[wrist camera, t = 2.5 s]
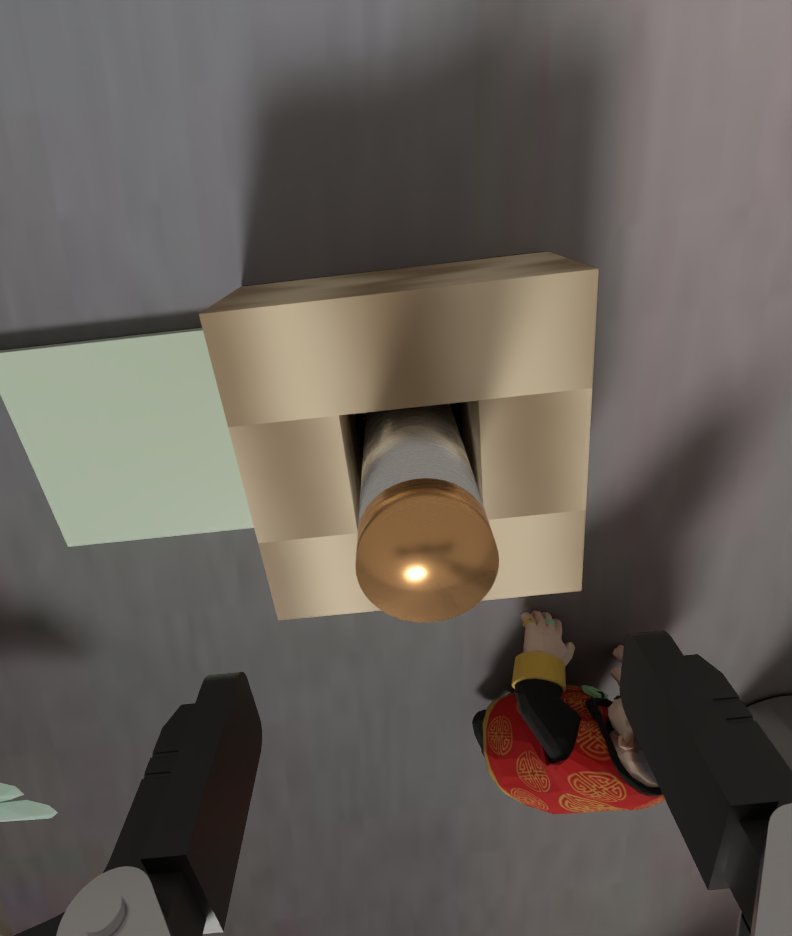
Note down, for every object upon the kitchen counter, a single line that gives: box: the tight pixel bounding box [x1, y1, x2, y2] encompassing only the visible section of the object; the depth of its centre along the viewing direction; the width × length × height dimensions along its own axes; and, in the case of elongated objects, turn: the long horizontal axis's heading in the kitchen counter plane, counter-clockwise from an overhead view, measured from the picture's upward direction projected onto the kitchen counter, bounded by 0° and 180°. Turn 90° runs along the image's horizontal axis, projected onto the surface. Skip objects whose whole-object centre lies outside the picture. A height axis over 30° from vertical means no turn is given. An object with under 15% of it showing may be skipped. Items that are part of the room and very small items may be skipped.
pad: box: [0, 328, 254, 547], centre depth 26 cm, size 10×10×1 cm
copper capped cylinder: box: [355, 404, 499, 622], centre depth 21 cm, size 4×4×12 cm
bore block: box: [199, 252, 599, 620], centre depth 23 cm, size 13×13×6 cm
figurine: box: [472, 610, 665, 814], centre depth 29 cm, size 10×10×15 cm
